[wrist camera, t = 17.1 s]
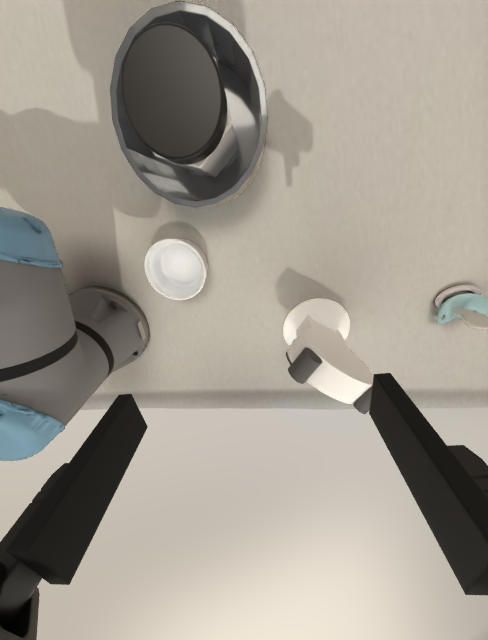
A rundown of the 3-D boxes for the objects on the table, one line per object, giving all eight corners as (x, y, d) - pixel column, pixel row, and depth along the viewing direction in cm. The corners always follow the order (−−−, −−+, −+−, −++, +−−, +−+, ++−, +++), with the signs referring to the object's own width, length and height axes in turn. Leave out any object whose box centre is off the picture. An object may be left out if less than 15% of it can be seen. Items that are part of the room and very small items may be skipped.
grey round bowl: (166, 214, 33) (142, 216, 27) (126, 72, 27) (82, 27, 20) (270, 195, 32) (274, 193, 25) (256, 38, 25) (255, -23, 18)
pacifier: (431, 287, 36) (426, 321, 39) (463, 301, 30) (455, 340, 33) (483, 279, 35) (475, 314, 38) (526, 292, 29) (513, 333, 32)
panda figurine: (267, 336, 42) (272, 399, 28) (304, 284, 37) (330, 329, 23) (322, 364, 44) (350, 434, 30) (363, 317, 39) (418, 377, 25)
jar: (200, 69, 26) (160, -26, 15) (252, 131, 28) (249, 87, 17) (156, 142, 29) (97, 106, 18) (206, 192, 31) (179, 187, 21)
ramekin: (146, 244, 35) (132, 249, 32) (198, 226, 34) (191, 229, 30) (170, 296, 39) (161, 306, 35) (219, 282, 38) (214, 291, 34)
